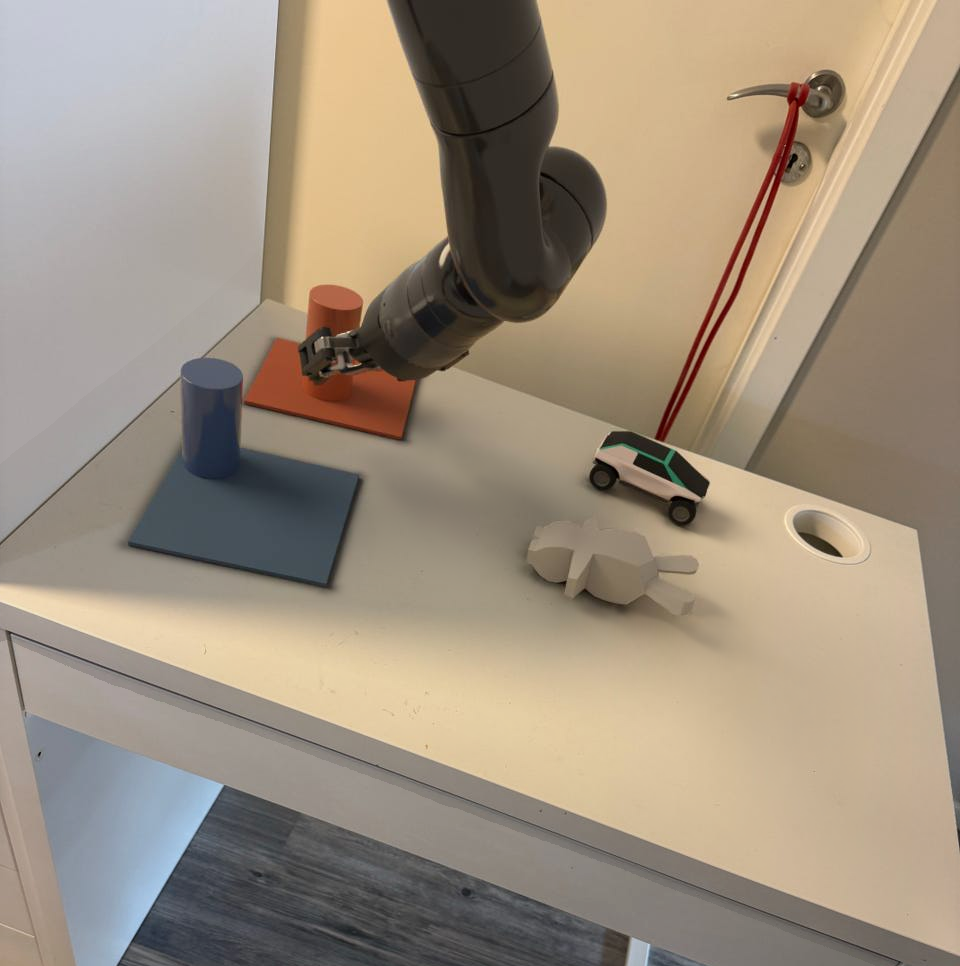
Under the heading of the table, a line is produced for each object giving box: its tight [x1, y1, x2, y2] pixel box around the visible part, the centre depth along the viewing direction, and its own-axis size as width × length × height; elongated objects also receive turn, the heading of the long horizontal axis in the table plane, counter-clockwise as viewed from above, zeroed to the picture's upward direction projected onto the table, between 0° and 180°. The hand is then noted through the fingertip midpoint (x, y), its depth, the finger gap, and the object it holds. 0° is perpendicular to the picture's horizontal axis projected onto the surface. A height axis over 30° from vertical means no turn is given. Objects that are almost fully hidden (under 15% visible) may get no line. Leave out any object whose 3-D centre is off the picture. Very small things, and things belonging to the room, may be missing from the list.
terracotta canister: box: [302, 284, 364, 401], centre depth 89 cm, size 5×5×10 cm
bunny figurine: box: [525, 518, 700, 617], centre depth 78 cm, size 10×5×15 cm
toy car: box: [588, 430, 711, 526], centre depth 90 cm, size 6×12×5 cm, turn 65°
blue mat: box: [127, 447, 360, 588], centre depth 76 cm, size 16×16×1 cm
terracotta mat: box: [243, 337, 417, 441], centre depth 93 cm, size 16×14×1 cm
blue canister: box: [180, 357, 244, 479], centre depth 76 cm, size 5×5×9 cm
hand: (357, 372), depth 84 cm, fingers open, 8 cm apart
